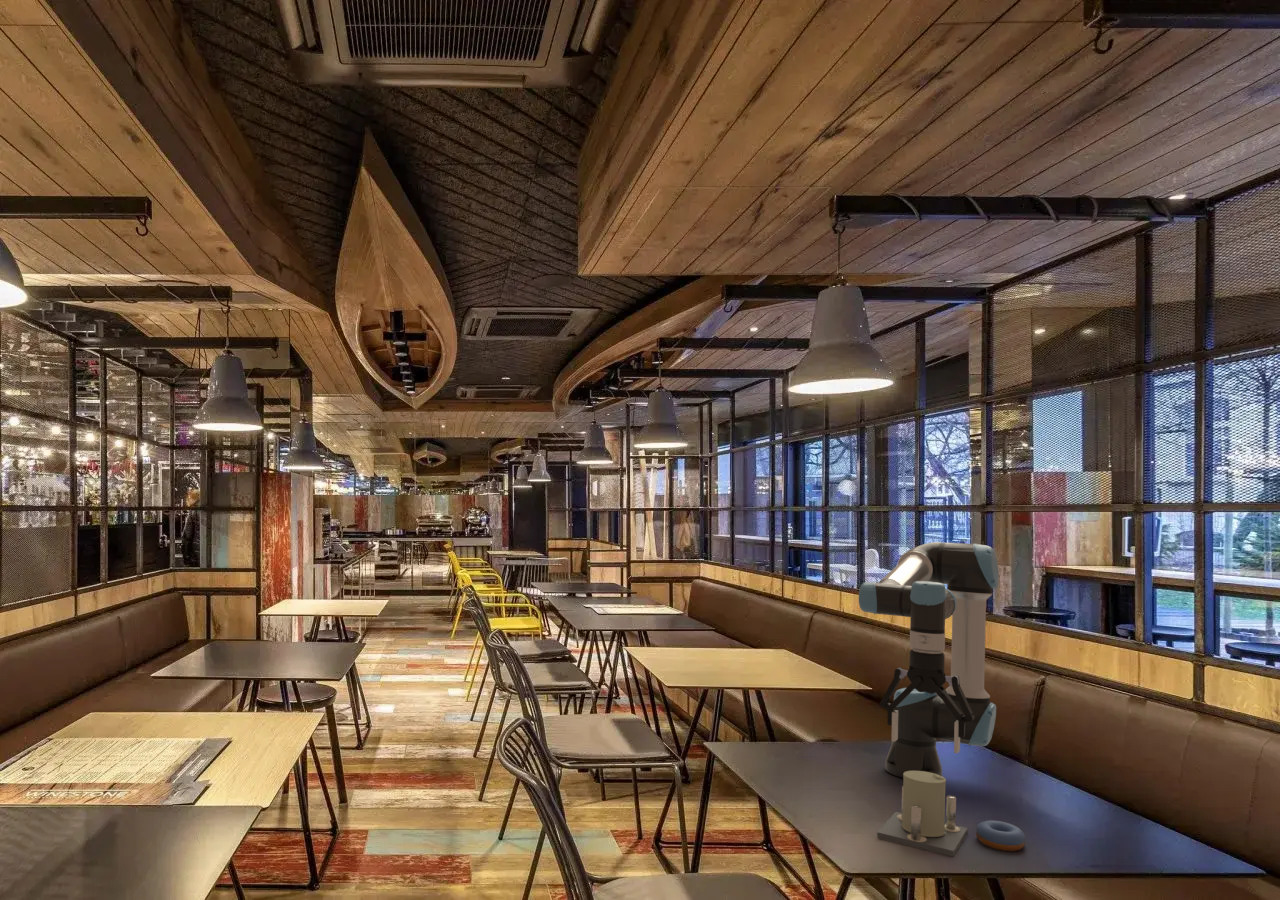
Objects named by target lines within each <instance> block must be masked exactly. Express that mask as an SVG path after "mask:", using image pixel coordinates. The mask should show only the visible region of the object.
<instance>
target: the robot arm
mask: <svg viewBox="0 0 1280 900" xmlns="http://www.w3.org/2000/svg"><path fill="white" fill-rule="evenodd" d="M999 574H1000V573H999V564H998V559H997V555H996V552H995V550H994V549H993V548H992V547H991V546H989V545H985V544H978V543H961V542H959V543H958V542H942V541H935V542H934V541H933V542H927V543H924V544H920V545H917V546H915V547H913V548H911V549H909V550H907V551H906V552H904V553H903V554H902V555H901V556H900V557H899V559H898V561H897V565H896V566H894V567H893V568H892V569H891V571H889V572H888V573H887V574H886V575H885V576H884V577H883V578H882V579H880V580H879V582H875V581H872V582H869V581H868V582H867V581H865V582H863V583H861V585H860V587H859V589H858V590H859V591H858V606H859V608H860V610H861V611H862V612H864V613H869V614H870V613H871V614H873V615H883V616H884V615H886V616H896V617H904V618H910V619H909V621H910V627H909V628H910V629H909V648H911V649H910V651H909V657H908V658H909V663H908V665H909V666H908V670H907V669H904V668H902V667H897V668H896V669H895V670H894V673H893V679H892V681H891V682H890V684H889V686H888V688H887V689H886V691H885V693H884V694H883V696H882V698H881V700H880V702H879V704H878V705H879V706H880V708H883V709H886V711H887V720H886V721H887V722H886V723H887V725H888V726H891V745H890V747H889V750H888V753H887V756H886V758H885V762H884V765H885V767H884V769H885V771H886V772H887V773H889V774H890V775H893V776H895V777H899V778H902V779H903V773H904V772H906V771H925V772H930V773H935V774H938V775H940V776H942V777H943V766H942V764H941V759H940V757H939V754H938V751H937V740H942V741H948V742H953V753H954V754H959V752H960V751H961V744H963V745H968V746H976V747H985V746H987V745H989V743H990V742H991V740H992V737H993V733H994V729H995V724H996V718H997V705H996V704H995V703H993V702H991V694H989V693H988V692H987V691H986V689H985V666H986V665H985V663H986V662H985V661H986V657H985V656H986V621H987V620H986V615H987V613H986V611H987V610H986V609H987V600H988V599H989V598H990V597H992V595H993V589H994V590H995V589H997V588H999V585H1000V580H999V578H1000V575H999ZM945 585H947V586H945ZM946 587H947V588H946ZM951 617H952V619H951V622H952V623H951V655H950V657H951V659H950V660H951V661H950V675H946V674H945V657H946V656H945V653H944V652H943V651H945V650H946V628H945V627H946V620H947V619H949V618H951ZM905 676H906V677H907V679H908V680H909V682H910V684H909V685H908V686H907V687H902V688H900V689H897V687H898V686H899V684H900V682H901V681H902V680H903V679H904V678H905ZM946 682H947V683H948V687H946V689H945V687H944V684H945V683H946ZM896 689H897V690H896ZM895 690H896V691H895ZM892 696H893V701H892V702H891V703H890V700H891V698H892Z"/></svg>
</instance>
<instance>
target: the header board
mask: <svg viewBox="0 0 1280 900" xmlns="http://www.w3.org/2000/svg"><path fill="white" fill-rule="evenodd" d="M901 814H902V812H899V811H895V812H894V813H893V814H892V816H890V817H889V819H887V821H886V822H885V823H884V824H883V825H882V827H881V828H880V829H879V830H878V831H877V834H876V837H877V838H876V839H879V840H884V841H889V842H892V843H896V844H901V845H905V846H909V847H913V848H916V849H920V850H925V851H928V852H931V853H932V852H933V853H936V854H940V855H945V856H947V857H955V855H956V854H957V852H958V850H959V849H960V847H961V846H962V844H963V842H964V840H965V838H966V836H967V835H968V833H969V832H968V829H969V828H968V827H963V826H960V825H956V829H955V830H951V829H947V828H946V822H945V834H944V835H943V836H940V837H925V836H921V840H920V841H914V840H912V839H911V833H910V832H908V831H906V830H904V829H903V828H902V819H903V818H902V817H901Z"/></svg>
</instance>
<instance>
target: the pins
mask: <svg viewBox="0 0 1280 900" xmlns="http://www.w3.org/2000/svg"><path fill="white" fill-rule="evenodd" d="M901 813H902V814H901V817H902V818H903V785H902V786H901ZM945 813H946V814H945V820H946V821H945V823H946V828H947V829H951V830H955V829H956V826H957V825H956V823H957V822H956V819H957V815H956V814H957V797H956V796H955V795H951V794H949V795H946V804H945ZM911 839H912V840H914V841H920V840H921V806H918V805H912V812H911Z"/></svg>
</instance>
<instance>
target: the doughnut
mask: <svg viewBox="0 0 1280 900" xmlns="http://www.w3.org/2000/svg"><path fill="white" fill-rule="evenodd" d="M976 838H977V839H978V841H980V842H981V844H983V845H985V846H986V847H989V848H992V849H994V850H999V851H1004V852H1005V851H1006V852H1015V851H1020V850H1021V849H1023V848H1024V846H1025V844H1026V835H1025V832H1023V831H1022V830H1021V828H1019V827H1018V826H1016V825H1015V824H1012V823H1008V822H1005V821H1000V820H985V821H984V820H983V821H981V822H980V823H978V824H977V827H976Z"/></svg>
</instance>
